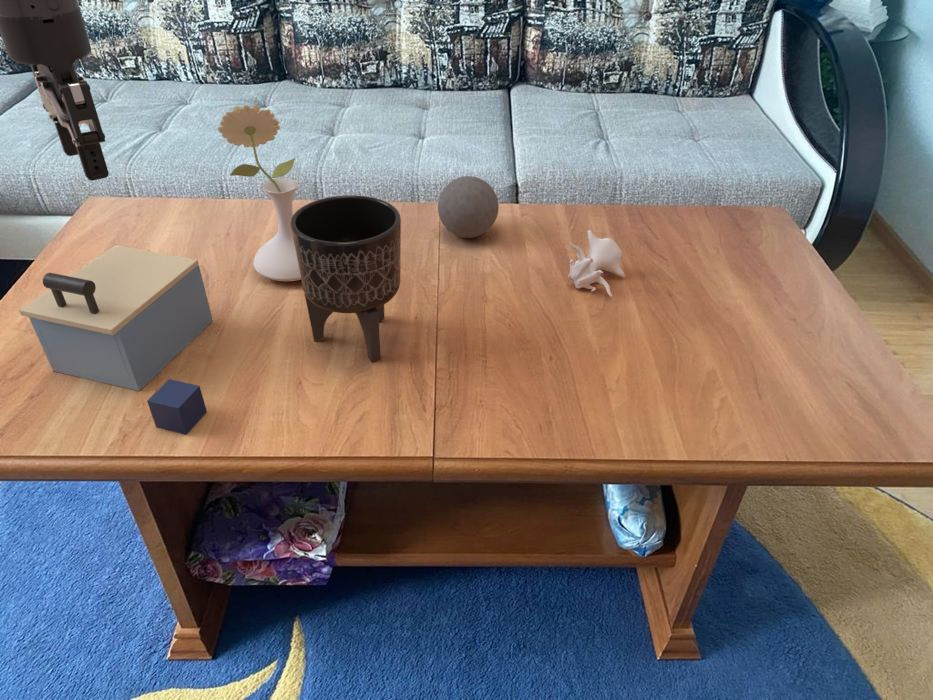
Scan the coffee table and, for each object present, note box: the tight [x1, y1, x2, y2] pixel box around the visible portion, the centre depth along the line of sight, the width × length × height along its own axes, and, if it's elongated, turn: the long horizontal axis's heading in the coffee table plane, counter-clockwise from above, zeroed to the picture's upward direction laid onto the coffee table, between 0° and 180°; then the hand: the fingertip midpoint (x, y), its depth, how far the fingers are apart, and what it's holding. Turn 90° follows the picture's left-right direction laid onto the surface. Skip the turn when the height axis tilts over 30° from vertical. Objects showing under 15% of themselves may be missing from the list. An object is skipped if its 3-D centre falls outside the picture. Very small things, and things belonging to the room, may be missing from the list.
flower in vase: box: [217, 104, 302, 282], centre depth 98 cm, size 13×11×25 cm
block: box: [146, 378, 208, 436], centre depth 77 cm, size 4×4×4 cm
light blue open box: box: [28, 265, 214, 392], centre depth 87 cm, size 16×13×9 cm
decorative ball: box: [437, 175, 499, 239], centre depth 113 cm, size 10×10×10 cm
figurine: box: [567, 229, 626, 298], centre depth 103 cm, size 10×8×10 cm
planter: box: [290, 194, 402, 363], centre depth 86 cm, size 13×13×18 cm
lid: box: [18, 244, 200, 335], centre depth 82 cm, size 16×13×5 cm
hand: (86, 165), depth 76 cm, fingers open, 8 cm apart
